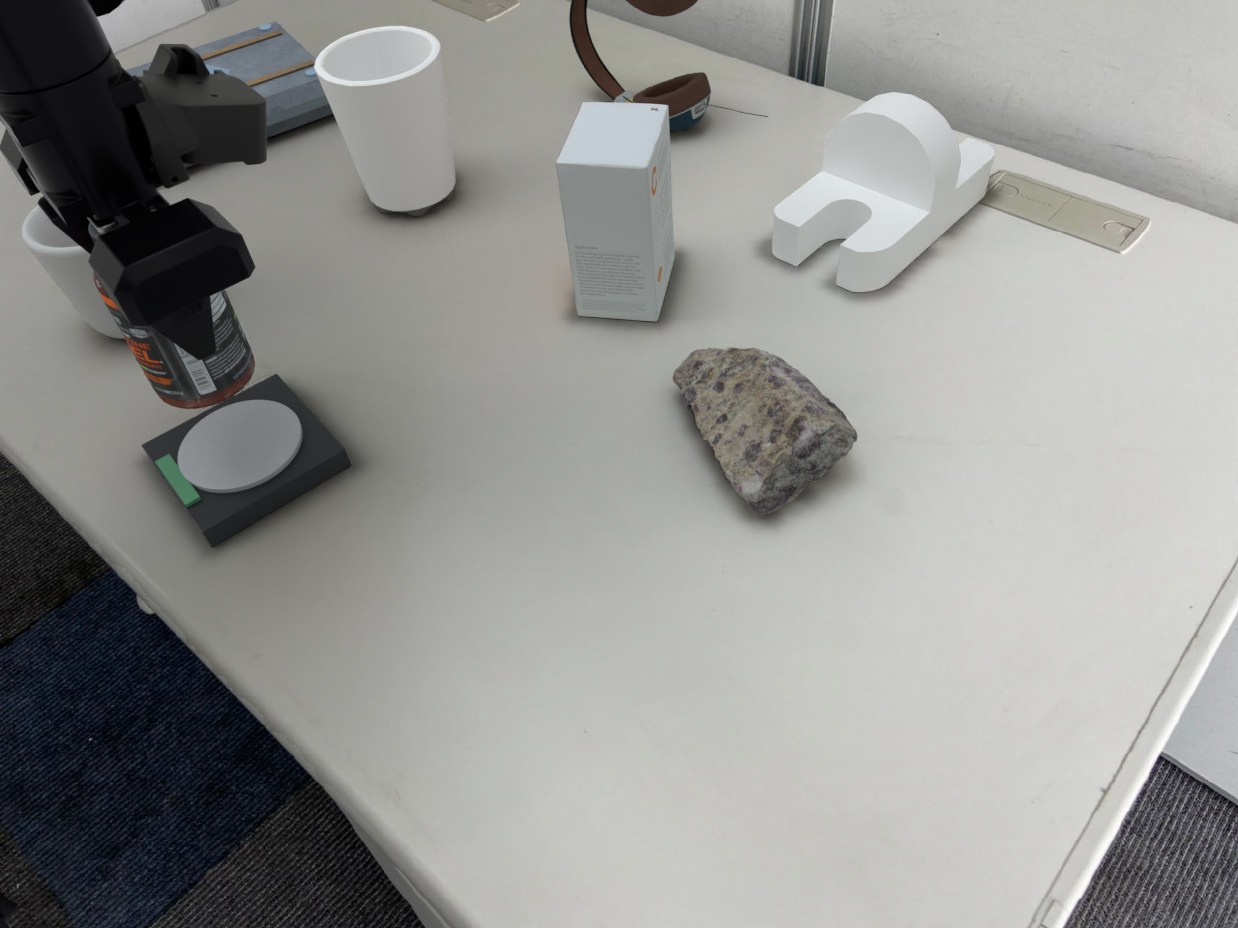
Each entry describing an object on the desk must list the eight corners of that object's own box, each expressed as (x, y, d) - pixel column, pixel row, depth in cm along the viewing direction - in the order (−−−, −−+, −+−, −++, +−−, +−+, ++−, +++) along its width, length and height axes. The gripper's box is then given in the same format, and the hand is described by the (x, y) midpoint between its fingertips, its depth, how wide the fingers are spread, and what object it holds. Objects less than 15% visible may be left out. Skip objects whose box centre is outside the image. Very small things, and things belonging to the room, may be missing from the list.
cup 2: (363, 238, 82) (317, 95, 72) (353, 178, 88) (309, 39, 78) (479, 213, 83) (449, 69, 73) (461, 155, 89) (431, 16, 80)
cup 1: (64, 286, 80) (1, 186, 73) (176, 244, 83) (126, 143, 76) (98, 371, 73) (32, 268, 66) (220, 321, 75) (169, 217, 68)
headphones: (791, 134, 86) (610, 88, 98) (786, -50, 75) (584, -76, 87) (748, 166, 83) (567, 115, 95) (736, -20, 72) (534, -51, 84)
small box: (597, 252, 78) (581, 99, 68) (676, 257, 77) (671, 102, 67) (574, 317, 73) (553, 162, 63) (658, 324, 72) (649, 166, 62)
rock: (773, 539, 58) (890, 439, 60) (750, 471, 54) (875, 369, 56) (645, 452, 67) (751, 369, 70) (618, 389, 63) (731, 305, 66)
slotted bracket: (870, 299, 72) (887, 182, 64) (764, 252, 76) (769, 138, 69) (992, 188, 80) (1020, 73, 72) (890, 152, 85) (907, 40, 77)
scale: (211, 548, 60) (199, 528, 59) (151, 460, 66) (138, 440, 64) (352, 465, 64) (343, 444, 63) (283, 389, 70) (274, 368, 68)
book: (135, 196, 89) (110, 146, 85) (91, 125, 98) (66, 77, 94) (347, 117, 95) (332, 68, 92) (287, 58, 105) (271, 11, 101)
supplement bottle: (137, 390, 58) (43, 226, 50) (219, 336, 61) (142, 174, 53) (197, 428, 56) (107, 262, 47) (279, 370, 59) (208, 205, 50)
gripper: (299, 66, 42) (389, 341, 54) (141, -45, 52) (244, 206, 64) (42, 168, 38) (200, 443, 49) (-76, 25, 48) (77, 281, 60)
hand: (184, 329), depth 56 cm, fingers closed on supplement bottle, 6 cm apart
